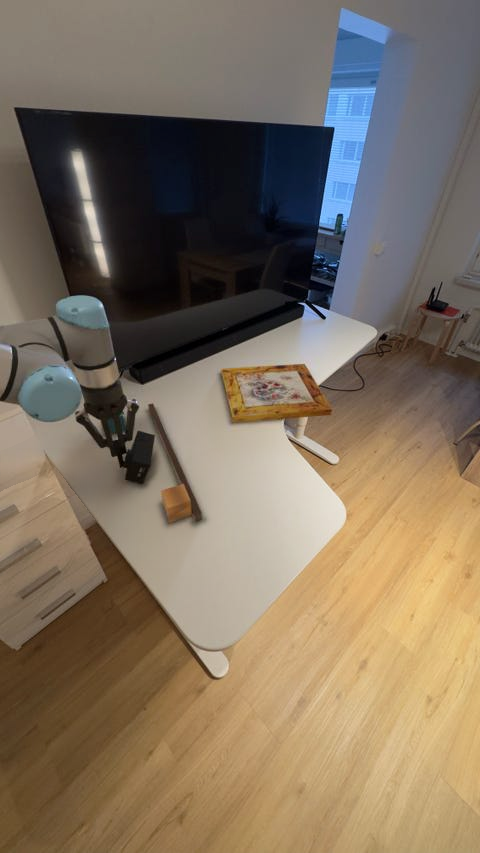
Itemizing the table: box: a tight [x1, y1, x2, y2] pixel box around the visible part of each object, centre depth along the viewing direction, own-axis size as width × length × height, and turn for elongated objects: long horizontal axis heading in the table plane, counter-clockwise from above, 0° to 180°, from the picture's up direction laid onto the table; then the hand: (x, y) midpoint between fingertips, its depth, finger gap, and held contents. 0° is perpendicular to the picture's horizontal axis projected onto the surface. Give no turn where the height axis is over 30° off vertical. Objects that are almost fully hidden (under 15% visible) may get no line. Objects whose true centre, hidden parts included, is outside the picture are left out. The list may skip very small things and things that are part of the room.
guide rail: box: [147, 403, 203, 523], centre depth 87 cm, size 2×42×2 cm, turn 25°
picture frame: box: [220, 363, 333, 424], centre depth 110 cm, size 27×2×30 cm
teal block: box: [107, 412, 126, 434], centre depth 94 cm, size 5×5×5 cm
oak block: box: [160, 484, 193, 523], centre depth 74 cm, size 5×5×5 cm
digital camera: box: [122, 430, 156, 485], centre depth 82 cm, size 10×5×7 cm, turn 6°
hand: (121, 463), depth 82 cm, fingers closed
